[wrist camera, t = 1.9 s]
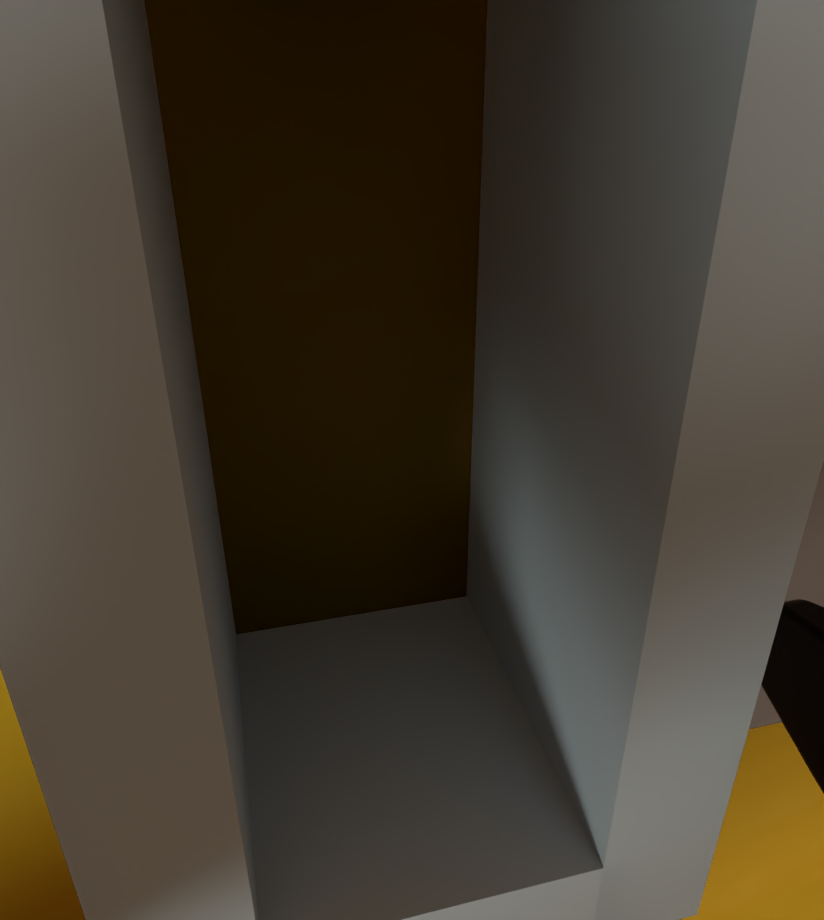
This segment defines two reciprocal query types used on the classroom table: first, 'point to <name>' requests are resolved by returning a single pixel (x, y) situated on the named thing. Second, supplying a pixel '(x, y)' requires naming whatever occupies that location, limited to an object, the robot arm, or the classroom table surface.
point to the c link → (491, 491)
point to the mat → (801, 585)
